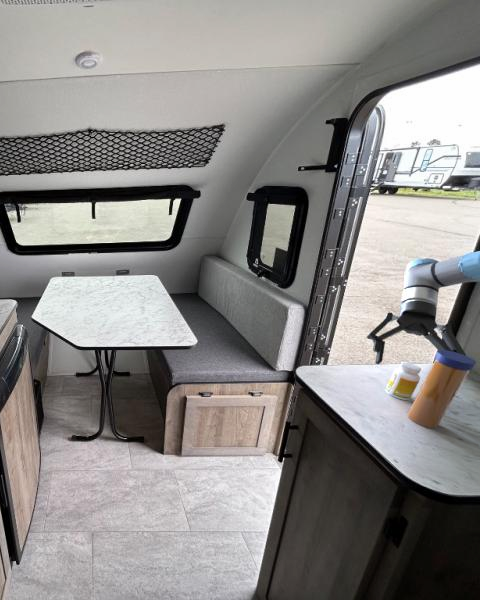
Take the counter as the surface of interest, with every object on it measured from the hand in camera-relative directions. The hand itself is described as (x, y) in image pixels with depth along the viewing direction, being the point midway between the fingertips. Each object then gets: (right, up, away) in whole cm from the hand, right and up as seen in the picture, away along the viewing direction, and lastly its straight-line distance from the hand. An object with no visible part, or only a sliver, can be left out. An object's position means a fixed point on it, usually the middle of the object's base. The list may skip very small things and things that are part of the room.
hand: (410, 370), depth 90 cm
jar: (-4, -11, -7) cm, 14 cm away
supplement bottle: (0, -8, +3) cm, 8 cm away
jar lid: (-3, +6, -14) cm, 15 cm away
